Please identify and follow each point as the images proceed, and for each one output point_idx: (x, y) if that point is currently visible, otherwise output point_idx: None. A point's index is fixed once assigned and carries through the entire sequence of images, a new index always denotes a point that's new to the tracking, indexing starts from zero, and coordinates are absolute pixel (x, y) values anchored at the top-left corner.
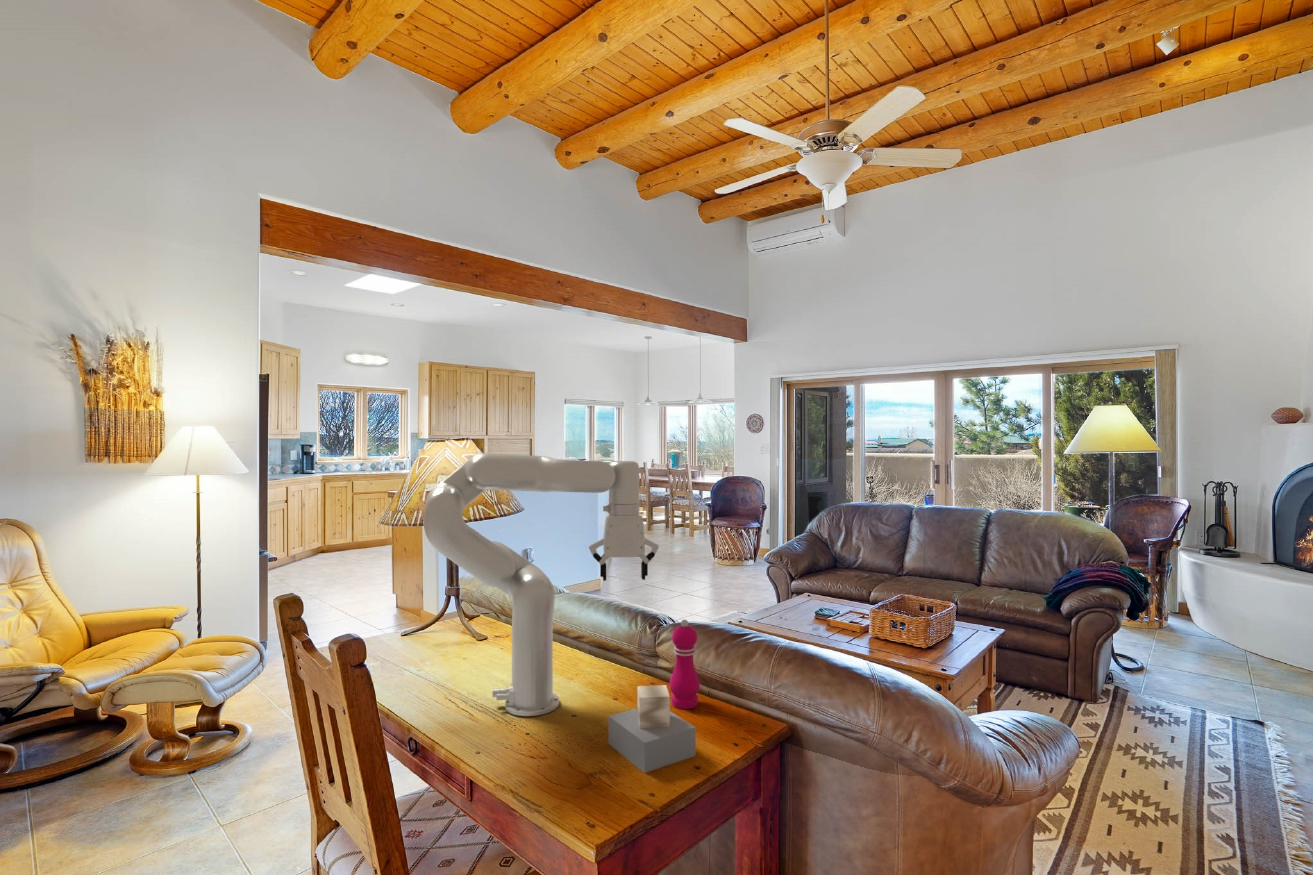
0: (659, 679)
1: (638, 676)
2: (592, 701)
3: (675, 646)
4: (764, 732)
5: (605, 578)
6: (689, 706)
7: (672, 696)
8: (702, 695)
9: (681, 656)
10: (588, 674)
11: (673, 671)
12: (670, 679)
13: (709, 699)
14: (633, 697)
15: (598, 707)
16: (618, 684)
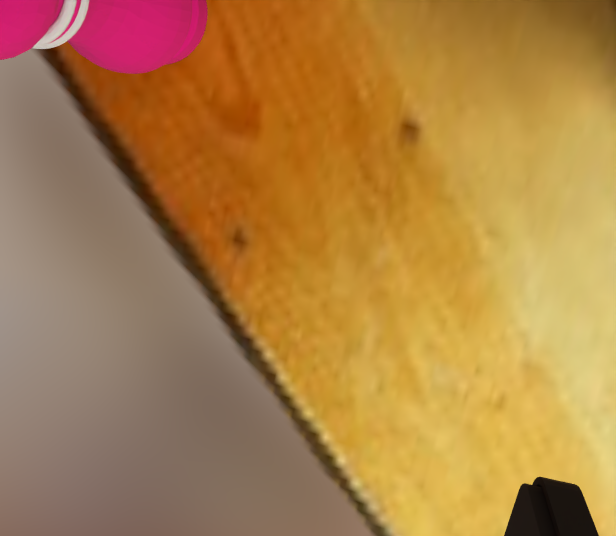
0: (207, 267)
1: (276, 316)
2: (507, 128)
3: (64, 6)
4: None
5: (546, 499)
6: None
7: (193, 16)
8: (81, 75)
9: None
10: (455, 390)
11: (143, 13)
12: (173, 13)
13: None
14: (337, 125)
15: (499, 60)
16: (365, 265)
